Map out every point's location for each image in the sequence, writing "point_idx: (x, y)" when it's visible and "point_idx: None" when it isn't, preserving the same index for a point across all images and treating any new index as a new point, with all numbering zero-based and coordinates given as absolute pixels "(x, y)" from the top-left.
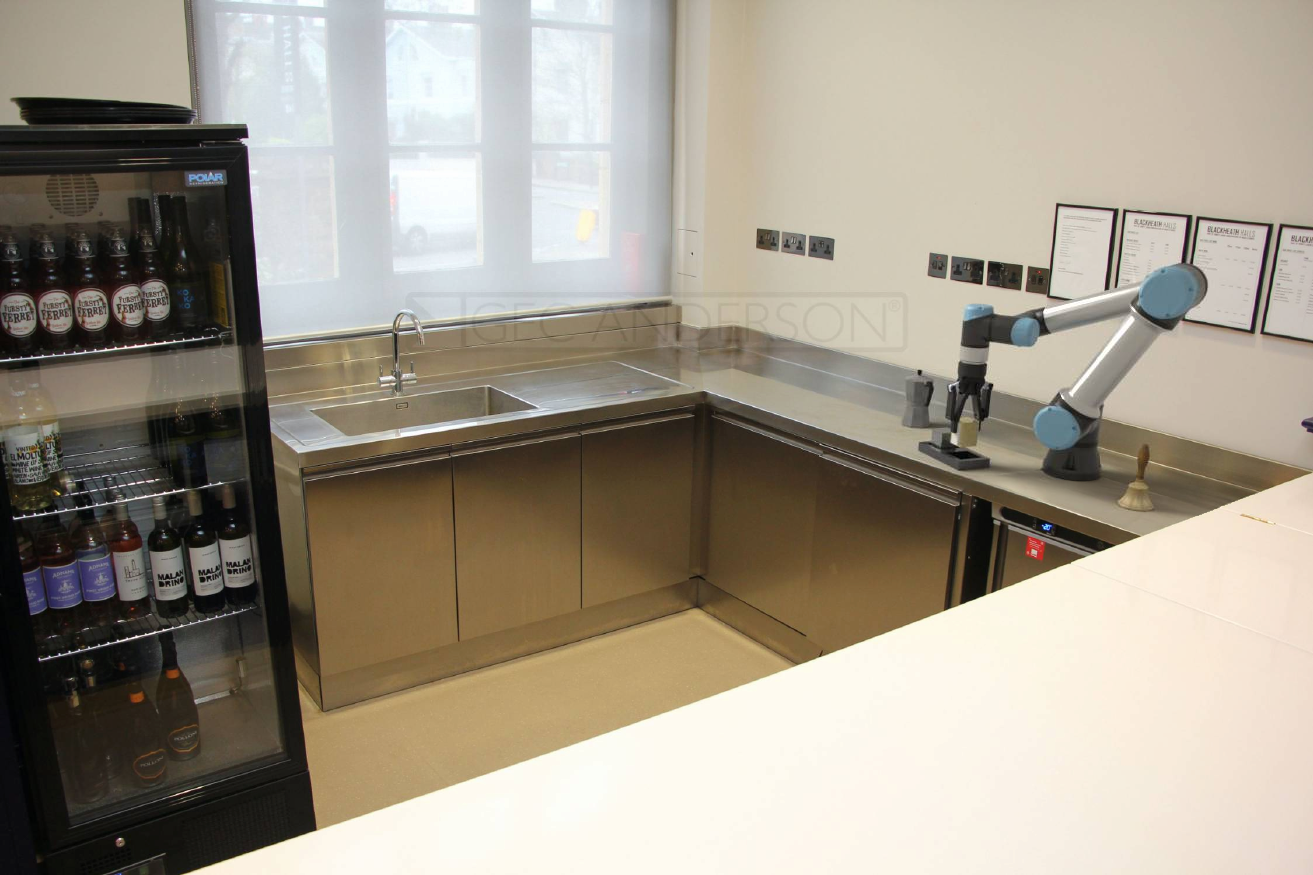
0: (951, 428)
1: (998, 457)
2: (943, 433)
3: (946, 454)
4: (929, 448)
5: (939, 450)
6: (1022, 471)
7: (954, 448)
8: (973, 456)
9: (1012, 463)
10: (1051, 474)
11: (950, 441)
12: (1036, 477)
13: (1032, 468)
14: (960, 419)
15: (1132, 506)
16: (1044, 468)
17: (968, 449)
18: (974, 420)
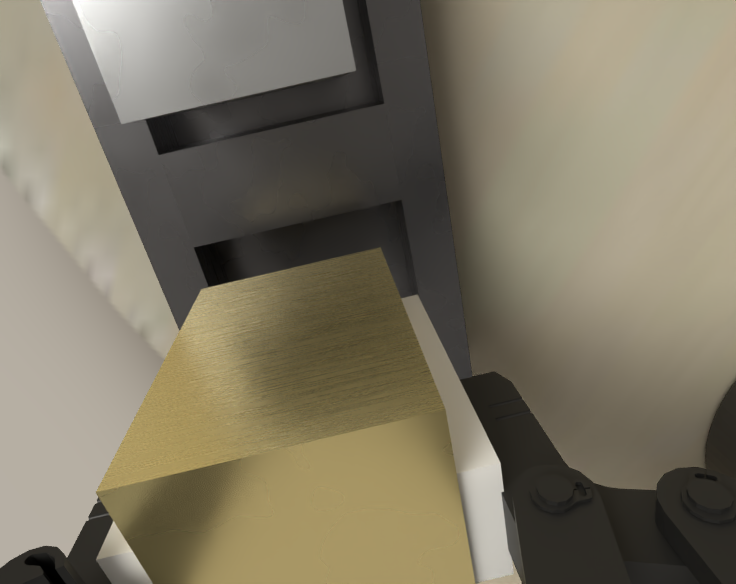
0: (103, 516)
1: (664, 113)
2: (143, 117)
3: (184, 298)
4: (72, 63)
5: (149, 182)
6: (616, 396)
7: (312, 126)
8: (412, 276)
9: (663, 256)
10: (708, 468)
11: (200, 294)
12: (620, 477)
13: (706, 350)
14: (227, 547)
15: None
16: (729, 428)
17: (427, 166)
18: (448, 575)
